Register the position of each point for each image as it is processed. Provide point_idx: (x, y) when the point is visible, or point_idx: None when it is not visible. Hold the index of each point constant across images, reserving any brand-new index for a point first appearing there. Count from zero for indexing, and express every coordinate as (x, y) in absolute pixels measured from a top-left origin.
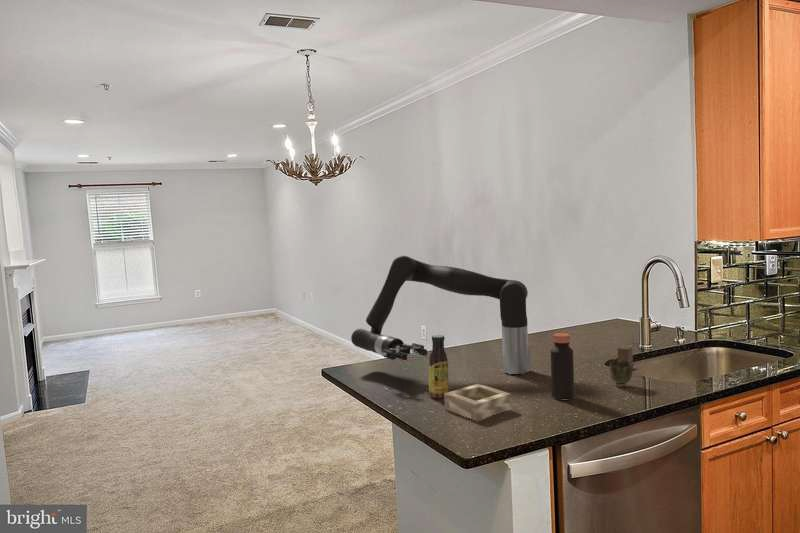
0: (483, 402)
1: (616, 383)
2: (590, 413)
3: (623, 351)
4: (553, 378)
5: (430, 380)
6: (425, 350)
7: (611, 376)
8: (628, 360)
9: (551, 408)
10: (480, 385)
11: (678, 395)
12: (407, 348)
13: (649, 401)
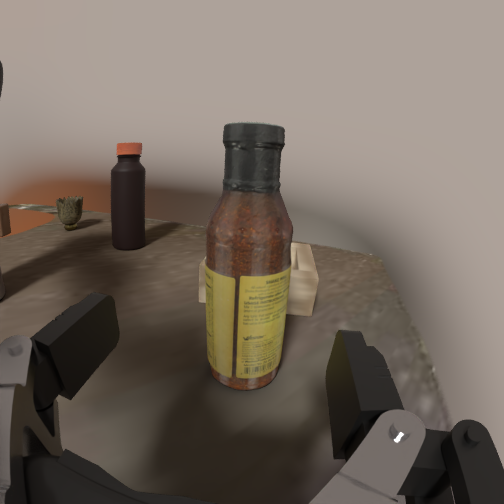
0: (291, 243)
1: (73, 225)
2: (179, 230)
3: (5, 208)
4: (140, 214)
5: (284, 323)
6: (110, 297)
7: (72, 217)
8: (9, 219)
9: (183, 245)
10: None
11: (95, 214)
12: (85, 470)
13: None
